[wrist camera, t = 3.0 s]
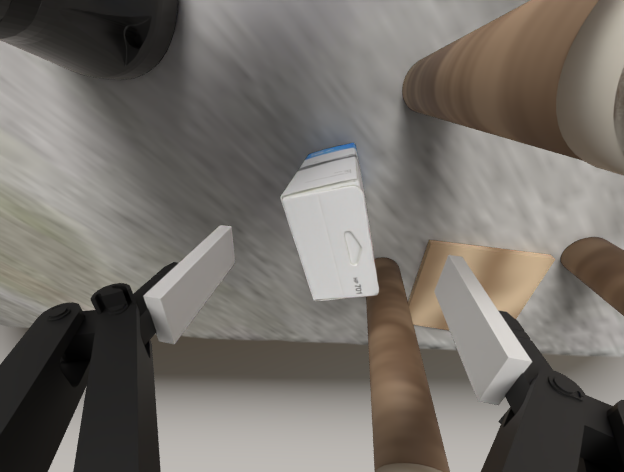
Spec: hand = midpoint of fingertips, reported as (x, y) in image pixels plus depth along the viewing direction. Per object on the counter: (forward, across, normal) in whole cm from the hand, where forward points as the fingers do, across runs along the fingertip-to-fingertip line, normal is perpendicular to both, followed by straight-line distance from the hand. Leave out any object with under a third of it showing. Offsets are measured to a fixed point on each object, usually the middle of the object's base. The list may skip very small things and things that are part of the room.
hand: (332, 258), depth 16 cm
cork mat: (+12, +16, -10) cm, 22 cm away
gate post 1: (+12, +6, -9) cm, 16 cm away
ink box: (+12, 0, 0) cm, 12 cm away
